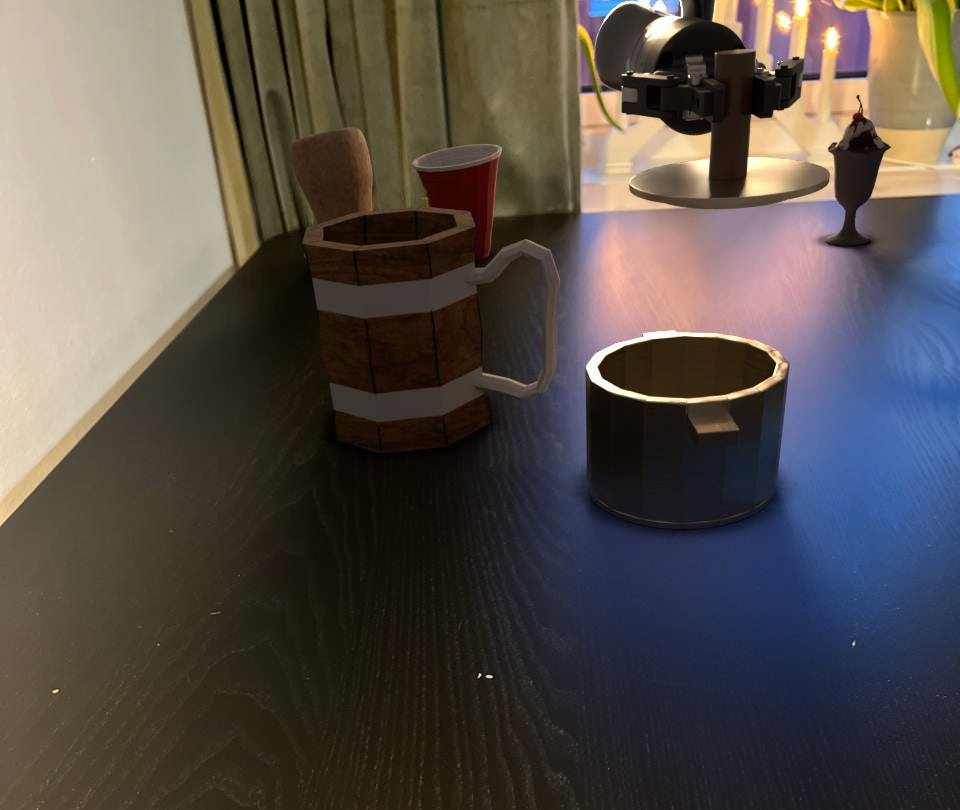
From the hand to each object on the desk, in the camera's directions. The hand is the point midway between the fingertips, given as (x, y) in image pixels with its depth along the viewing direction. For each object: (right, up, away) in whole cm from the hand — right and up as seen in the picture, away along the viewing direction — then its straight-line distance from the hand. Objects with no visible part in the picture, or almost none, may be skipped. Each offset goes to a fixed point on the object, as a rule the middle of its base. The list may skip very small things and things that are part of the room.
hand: (744, 102), depth 63 cm
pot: (-3, -24, +4) cm, 25 cm away
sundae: (+26, +12, +53) cm, 60 cm away
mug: (-20, -17, +17) cm, 31 cm away
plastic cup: (-19, +13, +60) cm, 64 cm away
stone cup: (-34, +15, +64) cm, 74 cm away
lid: (0, -3, +5) cm, 6 cm away
